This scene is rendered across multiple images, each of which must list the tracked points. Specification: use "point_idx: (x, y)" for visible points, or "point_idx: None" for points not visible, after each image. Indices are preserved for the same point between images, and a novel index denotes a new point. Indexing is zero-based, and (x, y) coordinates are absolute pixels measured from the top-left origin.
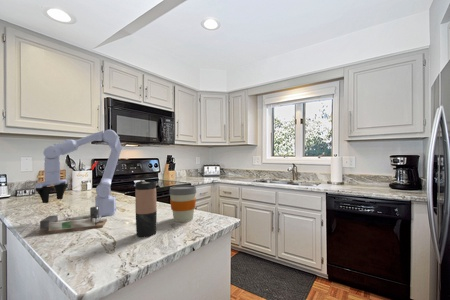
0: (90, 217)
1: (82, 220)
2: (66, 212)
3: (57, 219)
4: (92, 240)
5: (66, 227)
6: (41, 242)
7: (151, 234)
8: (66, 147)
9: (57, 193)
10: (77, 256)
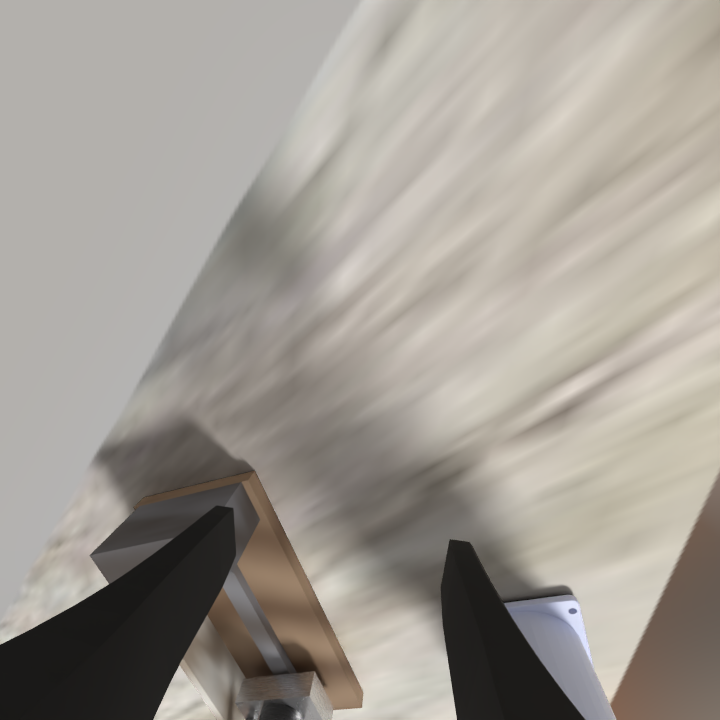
0: (261, 712)
1: (206, 697)
2: (711, 313)
3: (244, 546)
4: None
5: None
6: (72, 567)
7: None
8: None
9: (470, 637)
10: None
